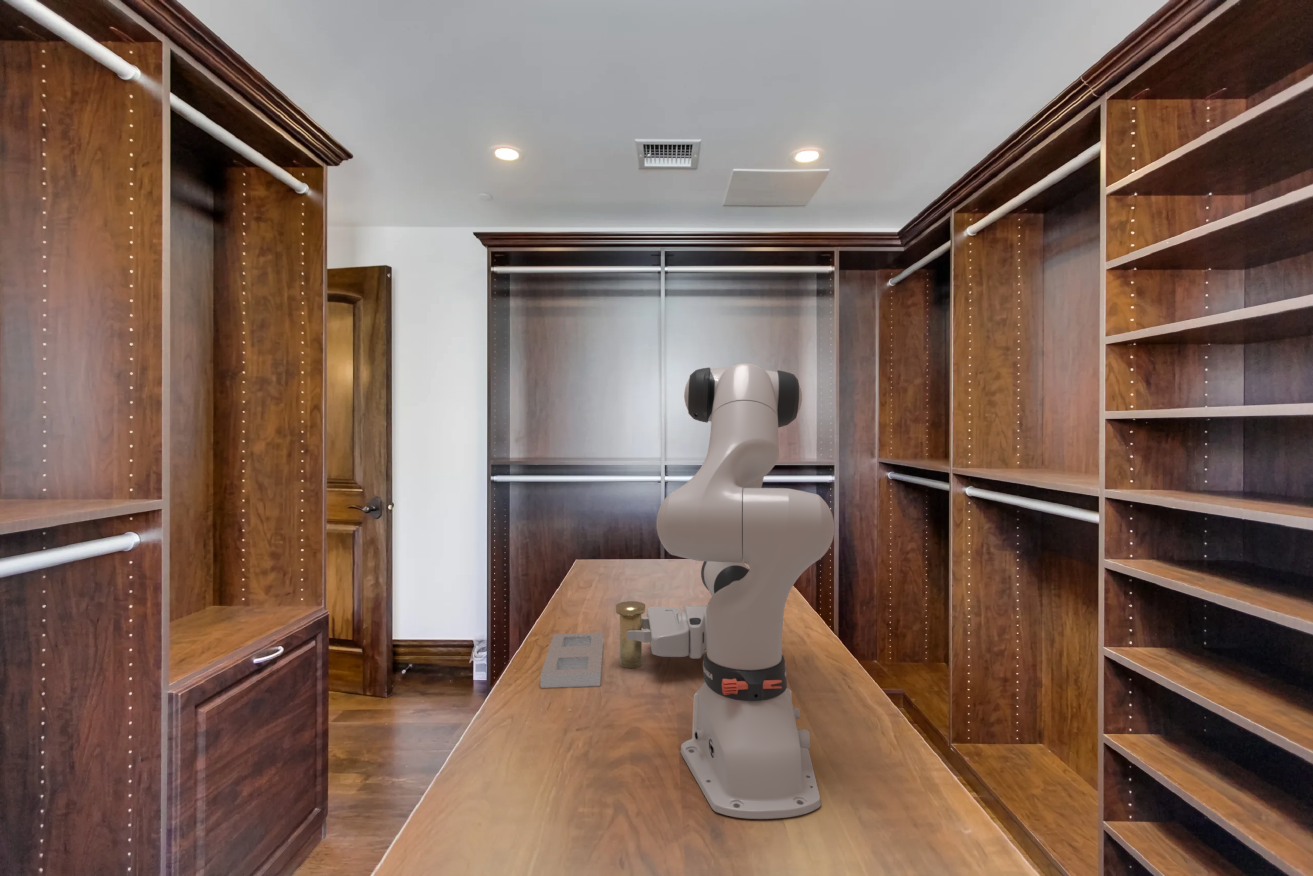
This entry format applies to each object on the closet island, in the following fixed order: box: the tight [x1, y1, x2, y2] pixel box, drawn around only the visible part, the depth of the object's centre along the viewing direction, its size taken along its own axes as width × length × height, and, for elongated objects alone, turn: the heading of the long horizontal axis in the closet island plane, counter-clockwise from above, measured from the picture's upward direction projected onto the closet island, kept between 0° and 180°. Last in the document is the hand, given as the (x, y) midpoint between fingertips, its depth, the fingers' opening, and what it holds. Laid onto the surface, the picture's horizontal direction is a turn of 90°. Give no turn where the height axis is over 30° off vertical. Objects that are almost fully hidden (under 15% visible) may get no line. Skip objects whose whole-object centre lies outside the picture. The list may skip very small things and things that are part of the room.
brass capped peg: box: [615, 600, 646, 669], centre depth 118 cm, size 6×6×12 cm
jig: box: [540, 632, 604, 689], centre depth 119 cm, size 22×11×2 cm, turn 4°
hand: (626, 629), depth 118 cm, fingers closed on brass capped peg, 4 cm apart
